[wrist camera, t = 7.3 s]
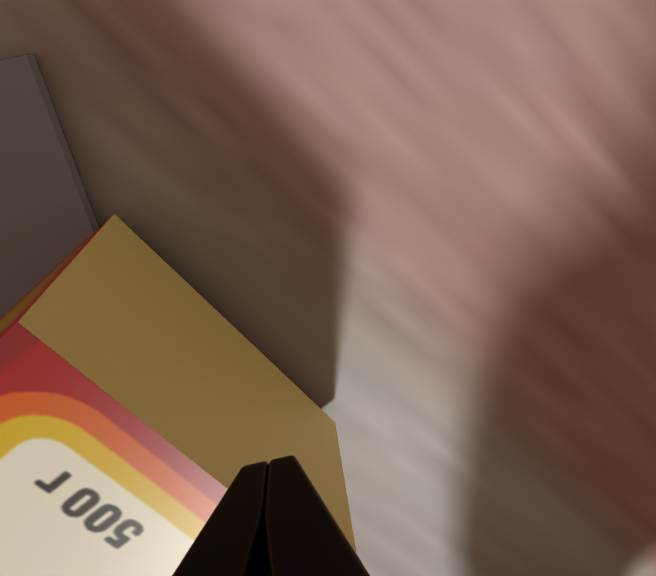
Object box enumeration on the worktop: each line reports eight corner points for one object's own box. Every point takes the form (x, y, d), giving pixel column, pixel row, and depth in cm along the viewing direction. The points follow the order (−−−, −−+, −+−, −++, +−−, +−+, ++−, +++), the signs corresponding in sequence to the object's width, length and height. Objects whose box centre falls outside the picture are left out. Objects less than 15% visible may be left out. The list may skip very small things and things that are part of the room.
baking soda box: (114, 213, 16) (-227, 527, 19) (17, 321, 10) (-460, 756, 13) (334, 422, 19) (15, 659, 22) (363, 597, 13) (-79, 887, 16)
